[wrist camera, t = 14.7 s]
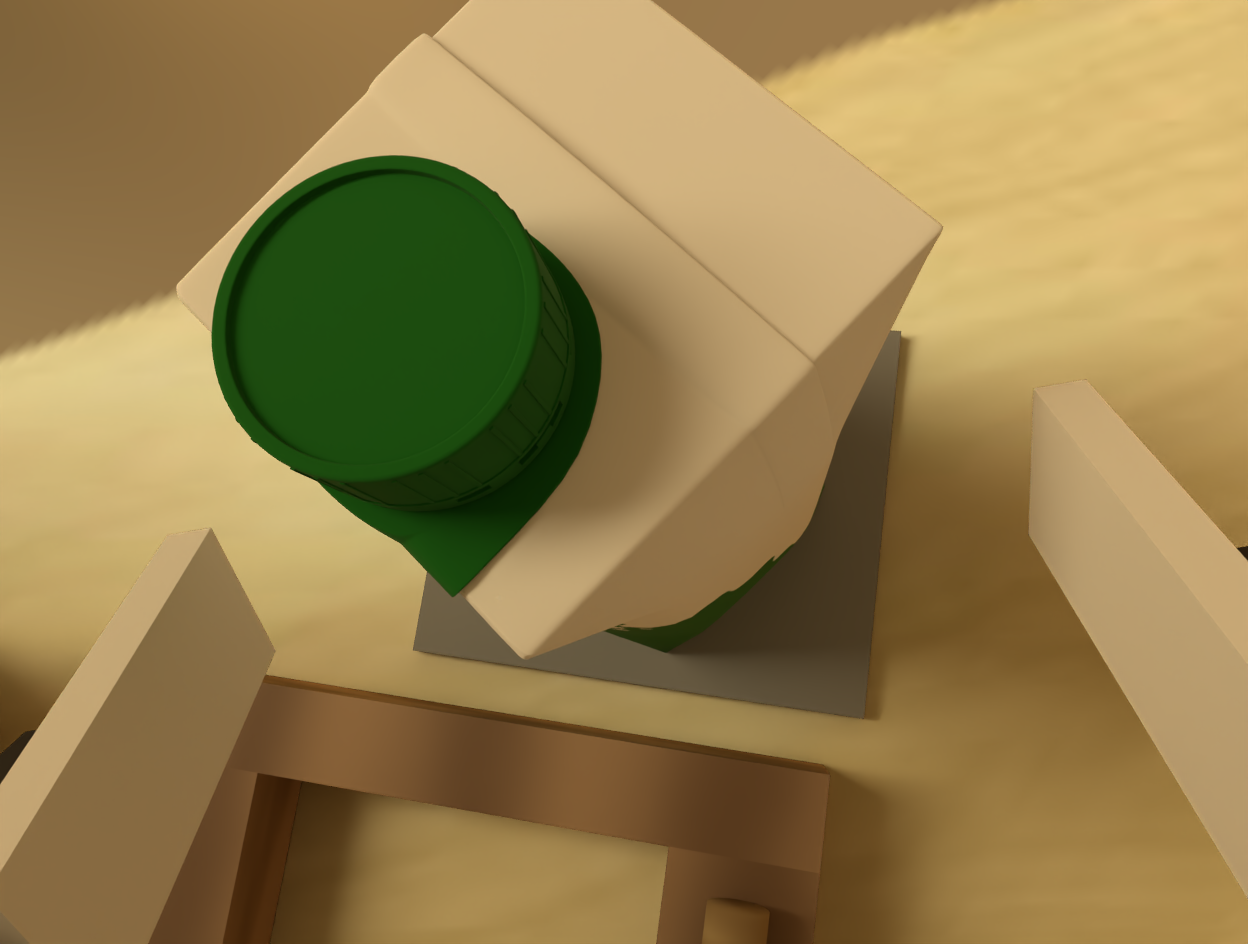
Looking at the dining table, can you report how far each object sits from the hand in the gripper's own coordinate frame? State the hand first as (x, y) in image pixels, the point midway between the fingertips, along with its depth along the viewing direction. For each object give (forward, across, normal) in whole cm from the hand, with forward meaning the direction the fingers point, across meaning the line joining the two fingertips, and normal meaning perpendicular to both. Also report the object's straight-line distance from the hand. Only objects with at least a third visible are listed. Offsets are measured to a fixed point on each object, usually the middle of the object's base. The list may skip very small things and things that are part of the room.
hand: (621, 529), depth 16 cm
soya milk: (+13, 0, -8) cm, 15 cm away
